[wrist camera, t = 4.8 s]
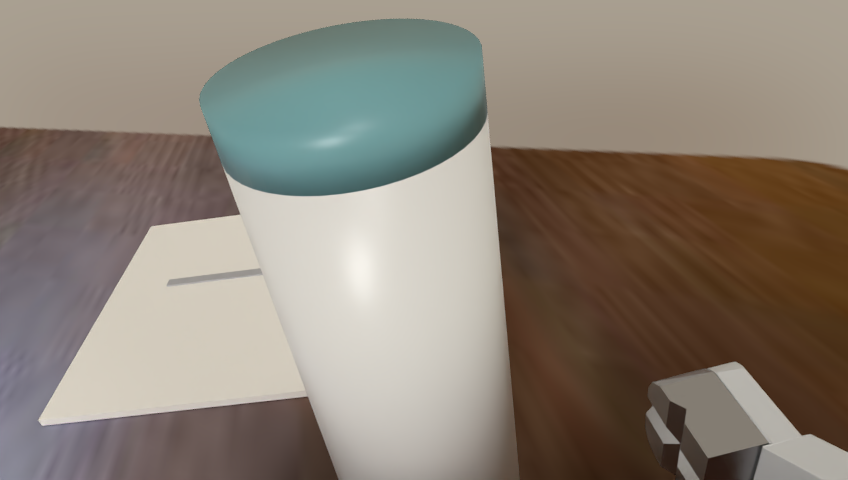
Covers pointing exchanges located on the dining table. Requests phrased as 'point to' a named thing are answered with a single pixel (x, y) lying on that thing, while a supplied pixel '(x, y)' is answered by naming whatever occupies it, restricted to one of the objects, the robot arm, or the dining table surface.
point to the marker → (378, 239)
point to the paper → (181, 332)
